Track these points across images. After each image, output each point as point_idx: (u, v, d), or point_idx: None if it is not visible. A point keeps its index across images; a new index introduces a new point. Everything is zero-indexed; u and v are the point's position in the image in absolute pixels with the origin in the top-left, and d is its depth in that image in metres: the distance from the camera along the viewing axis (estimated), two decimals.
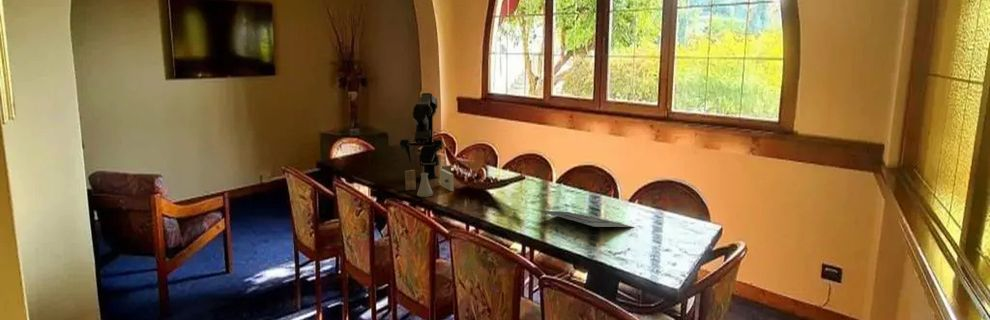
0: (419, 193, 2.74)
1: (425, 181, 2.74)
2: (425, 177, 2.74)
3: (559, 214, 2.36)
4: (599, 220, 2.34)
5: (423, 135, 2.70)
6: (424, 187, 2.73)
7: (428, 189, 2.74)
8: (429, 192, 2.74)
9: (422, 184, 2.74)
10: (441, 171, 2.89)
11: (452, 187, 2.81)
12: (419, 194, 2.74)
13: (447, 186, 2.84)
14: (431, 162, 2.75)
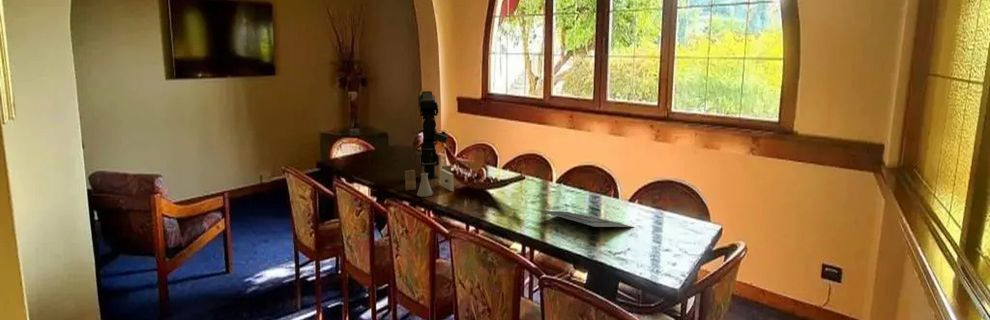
0: (419, 193, 2.74)
1: (425, 181, 2.74)
2: (425, 177, 2.74)
3: (559, 214, 2.36)
4: (599, 220, 2.34)
5: None
6: (424, 187, 2.73)
7: (428, 189, 2.74)
8: (429, 192, 2.74)
9: (422, 184, 2.74)
10: (441, 171, 2.89)
11: (452, 187, 2.81)
12: (419, 194, 2.74)
13: (447, 186, 2.84)
14: (430, 158, 2.90)
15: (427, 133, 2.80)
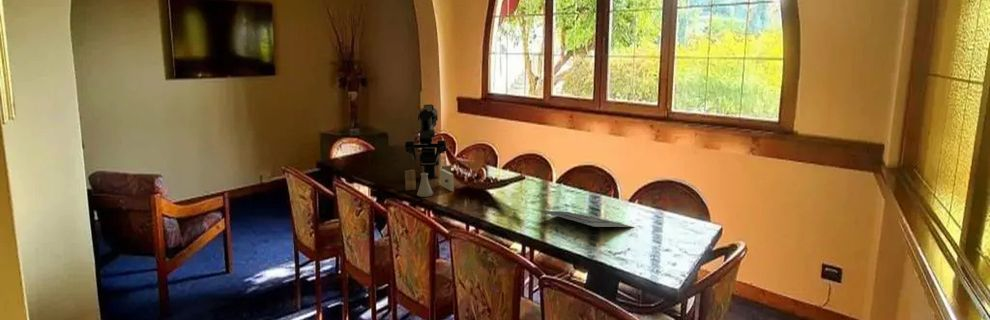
0: (419, 193, 2.74)
1: (425, 181, 2.74)
2: (425, 177, 2.74)
3: (559, 214, 2.36)
4: (599, 220, 2.34)
5: (427, 134, 2.80)
6: (424, 187, 2.73)
7: (428, 189, 2.74)
8: (429, 192, 2.74)
9: (422, 184, 2.74)
10: (441, 171, 2.89)
11: (452, 187, 2.81)
12: (419, 194, 2.74)
13: (447, 186, 2.84)
14: (435, 161, 2.82)
15: None
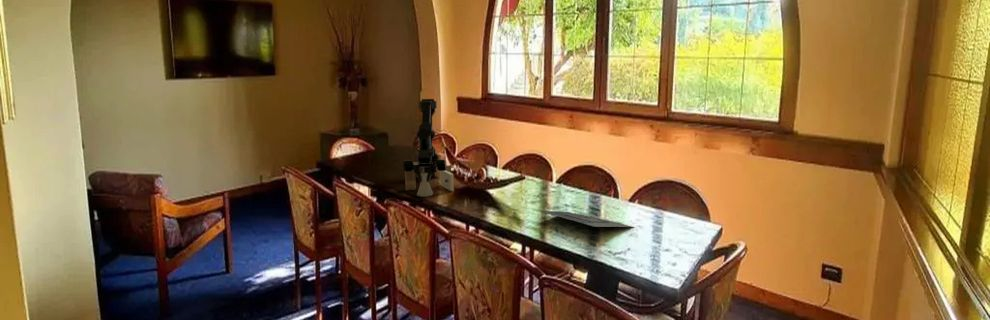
0: (419, 193, 2.74)
1: (425, 181, 2.74)
2: (425, 177, 2.74)
3: (559, 214, 2.36)
4: (599, 220, 2.34)
5: (426, 153, 2.72)
6: (424, 187, 2.73)
7: (428, 189, 2.74)
8: (429, 192, 2.74)
9: (422, 184, 2.74)
10: (441, 171, 2.89)
11: (452, 187, 2.81)
12: (419, 194, 2.74)
13: (447, 186, 2.84)
14: (428, 181, 2.74)
15: None
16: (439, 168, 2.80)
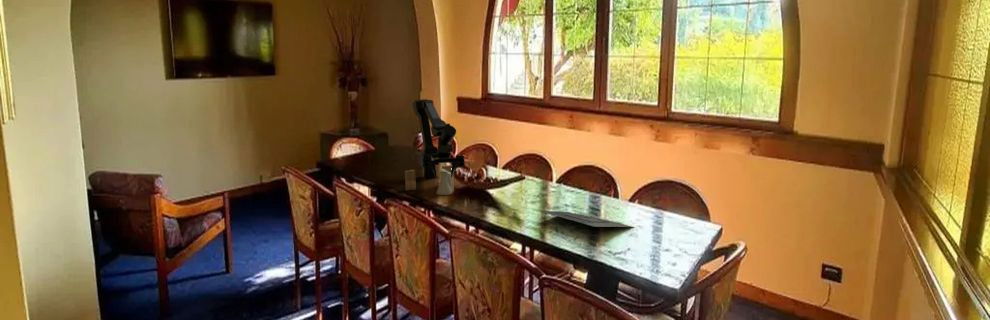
0: (439, 192, 2.76)
1: (445, 180, 2.76)
2: (445, 176, 2.76)
3: (559, 214, 2.36)
4: (599, 220, 2.34)
5: (446, 149, 2.74)
6: (444, 185, 2.76)
7: (448, 187, 2.77)
8: (449, 190, 2.77)
9: (442, 183, 2.76)
10: (441, 171, 2.89)
11: (452, 187, 2.81)
12: (439, 193, 2.76)
13: None
14: None
15: None
16: None
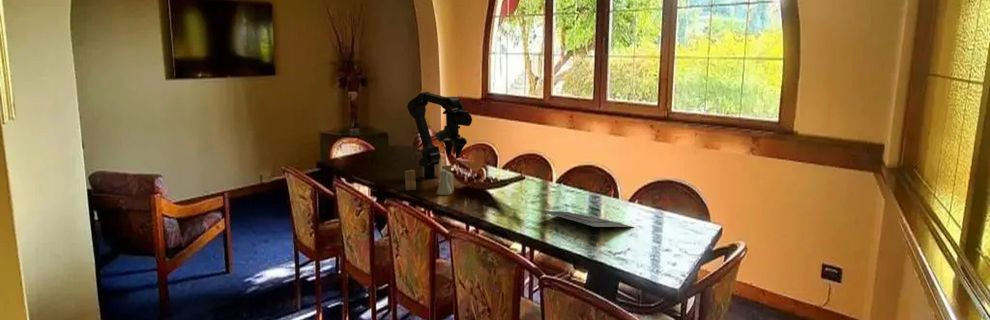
0: (439, 192, 2.76)
1: (445, 179, 2.76)
2: (445, 176, 2.76)
3: (559, 214, 2.36)
4: (599, 220, 2.34)
5: (438, 138, 2.87)
6: (444, 185, 2.76)
7: (448, 187, 2.77)
8: (449, 190, 2.77)
9: (442, 183, 2.76)
10: (441, 171, 2.89)
11: (452, 187, 2.81)
12: (439, 193, 2.76)
13: None
14: None
15: None
16: None
